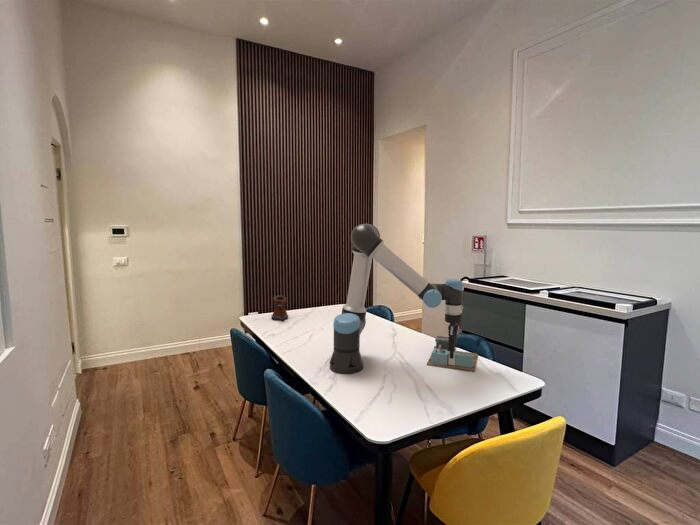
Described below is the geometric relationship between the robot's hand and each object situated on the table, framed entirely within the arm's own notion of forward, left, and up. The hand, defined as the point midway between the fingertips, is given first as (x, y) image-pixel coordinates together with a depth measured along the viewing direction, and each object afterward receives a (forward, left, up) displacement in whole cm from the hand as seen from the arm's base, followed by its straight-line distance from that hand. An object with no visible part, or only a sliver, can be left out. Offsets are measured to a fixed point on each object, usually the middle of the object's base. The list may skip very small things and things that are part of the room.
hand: (452, 362), depth 176 cm
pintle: (0, +6, -1) cm, 6 cm away
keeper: (+14, +6, 0) cm, 15 cm away
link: (0, 0, 0) cm, 0 cm away
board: (+7, 0, -1) cm, 7 cm away
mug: (+38, +115, -1) cm, 121 cm away
